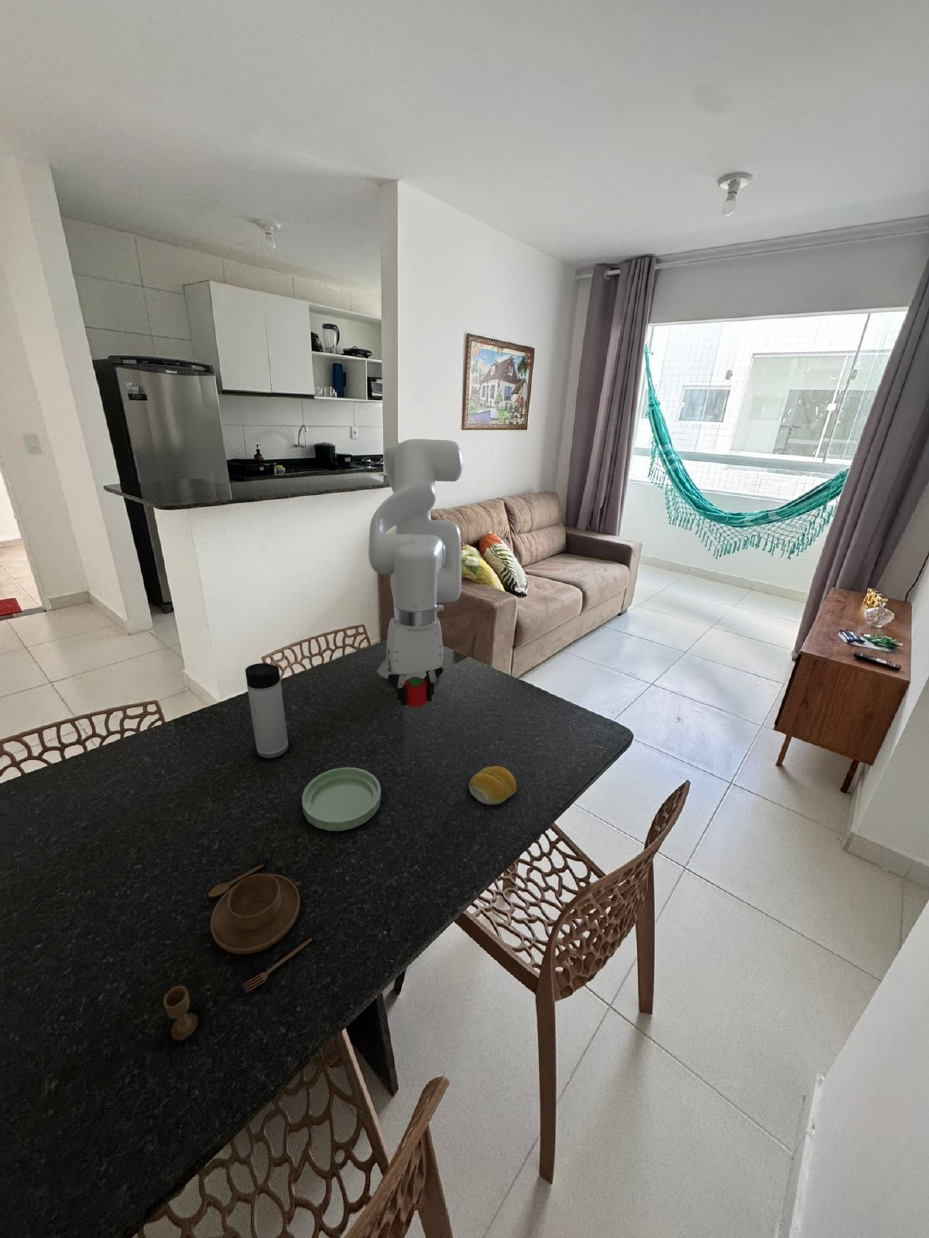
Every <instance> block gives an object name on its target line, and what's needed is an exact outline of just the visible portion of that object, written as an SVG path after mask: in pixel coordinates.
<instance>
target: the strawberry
mask: <svg viewBox="0 0 929 1238" xmlns="http://www.w3.org/2000/svg"><path fill="white" fill-rule="evenodd" d="M404 685H405V687H406V705H405V706H408V707H411V708H418V707H419V708H420V707H423V706H425V705H426V703H427V702H428V701H427V682H426V681H425V680H424V679H422V678H420V677H411V678H409V679H407V680H405V682H404Z"/></svg>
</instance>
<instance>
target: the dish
mask: <svg viewBox="0 0 929 1238" xmlns="http://www.w3.org/2000/svg"><path fill="white" fill-rule="evenodd" d="M381 801H382V788H381V784H380V781H379V780H378V779H377V778H376V776H375V775H374V774H372V773H371V772H369V771H367V770H366V769H362V768H358V767H345V766H344V767H337V768H332V769H330V770H326V771H325V772H322V773H320V774H318V775H317V776H316V777H314V778H313V779H311V780H310V782H309V783H308V784H307V785H306V787H304V790H303V792H302V794H301V805H302V814H303V816H304V818H305V819H306V820H307V822H308V823H309V824H311V825H313V826H314V827H315V828H317V829H321V830H324V831H328V832H343V831H346V830H352V829H354V828H357V827H359V826H361V825H363V824H365V823H366V822H368V821H369V820H370V819H371V818H373V816H375V815H376V814H377V811H378V810H379V808H380V806H381Z"/></svg>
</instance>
